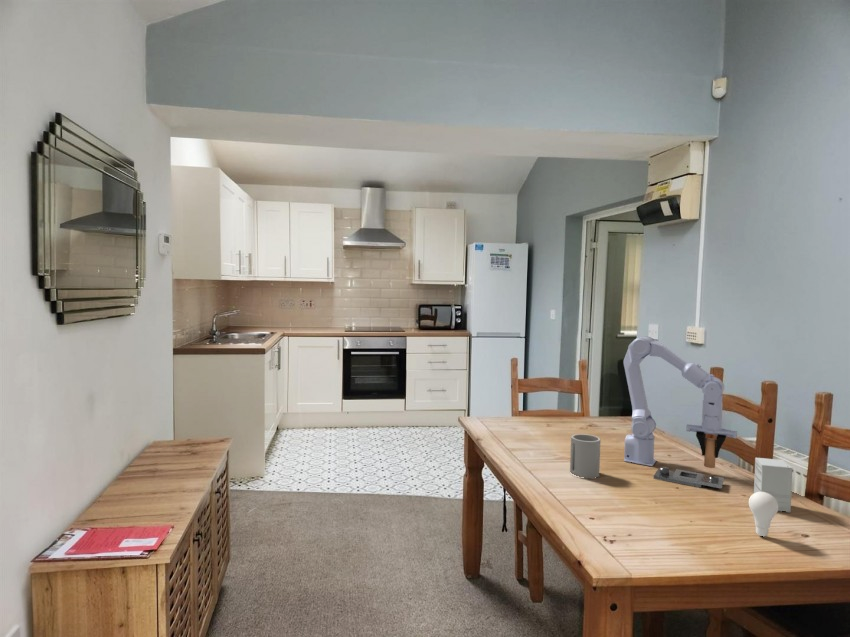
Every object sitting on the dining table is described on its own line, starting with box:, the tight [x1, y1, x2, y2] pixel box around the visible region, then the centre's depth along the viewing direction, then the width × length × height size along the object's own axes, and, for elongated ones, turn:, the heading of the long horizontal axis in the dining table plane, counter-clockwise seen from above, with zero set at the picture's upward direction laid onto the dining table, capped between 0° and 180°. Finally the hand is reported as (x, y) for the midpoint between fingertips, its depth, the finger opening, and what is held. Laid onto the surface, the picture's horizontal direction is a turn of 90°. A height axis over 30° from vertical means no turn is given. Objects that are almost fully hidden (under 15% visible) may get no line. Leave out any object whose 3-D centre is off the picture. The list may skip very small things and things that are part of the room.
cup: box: [569, 433, 601, 479], centre depth 171 cm, size 9×9×12 cm
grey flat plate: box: [653, 466, 724, 489], centre depth 166 cm, size 19×8×3 cm, turn 57°
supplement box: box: [753, 457, 794, 513], centre depth 147 cm, size 7×7×13 cm
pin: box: [703, 437, 716, 469], centre depth 172 cm, size 3×3×9 cm
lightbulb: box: [748, 492, 779, 538], centre depth 128 cm, size 6×6×11 cm
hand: (710, 456), depth 172 cm, fingers closed on pin, 3 cm apart
